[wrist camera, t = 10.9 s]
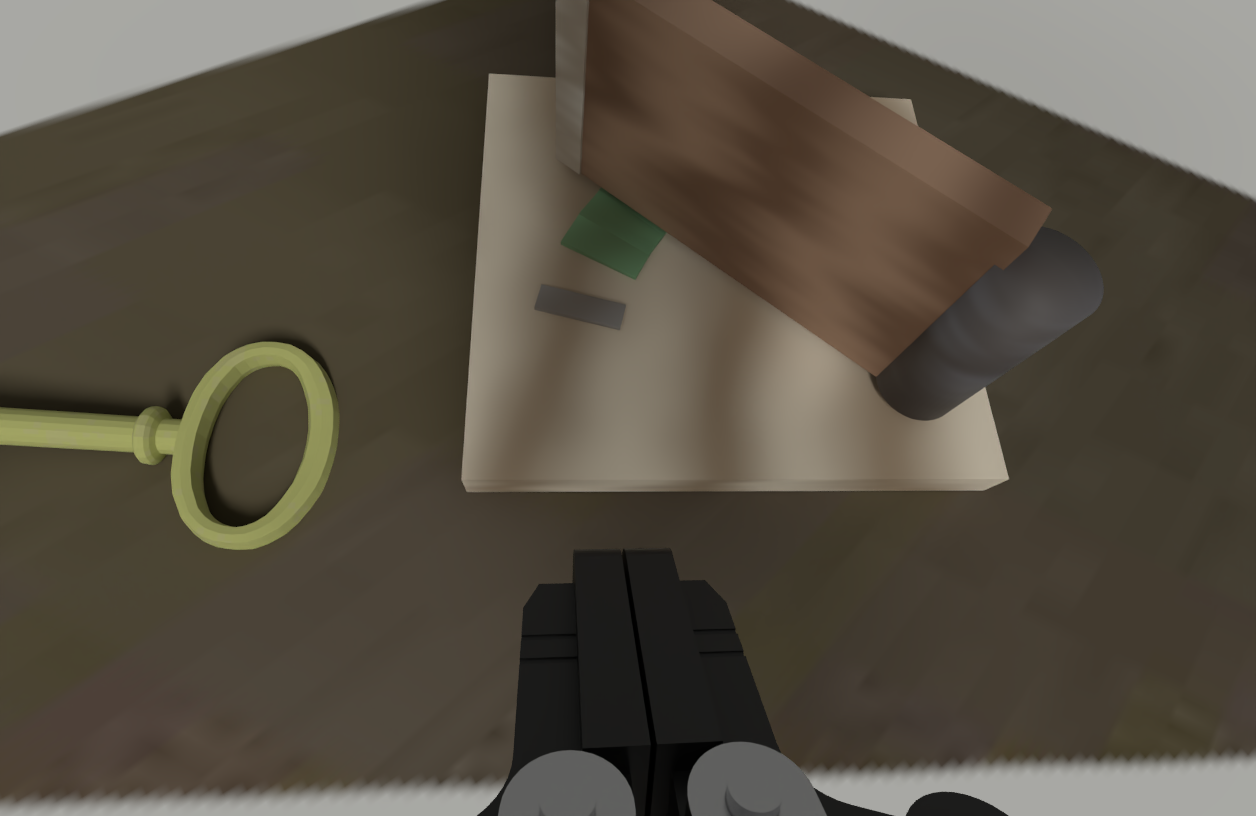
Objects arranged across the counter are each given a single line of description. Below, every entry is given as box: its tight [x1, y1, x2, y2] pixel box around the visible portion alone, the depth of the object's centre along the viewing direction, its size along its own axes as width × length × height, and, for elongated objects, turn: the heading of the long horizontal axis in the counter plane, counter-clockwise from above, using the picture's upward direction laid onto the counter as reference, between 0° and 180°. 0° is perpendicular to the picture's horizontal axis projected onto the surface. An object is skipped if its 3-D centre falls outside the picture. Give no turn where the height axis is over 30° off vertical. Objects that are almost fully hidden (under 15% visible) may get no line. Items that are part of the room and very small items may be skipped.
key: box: [0, 342, 339, 550], centre depth 21 cm, size 7×12×2 cm, turn 108°
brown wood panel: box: [556, 0, 1104, 421], centre depth 21 cm, size 18×3×8 cm, turn 53°
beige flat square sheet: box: [461, 74, 1009, 492], centre depth 26 cm, size 19×18×2 cm
